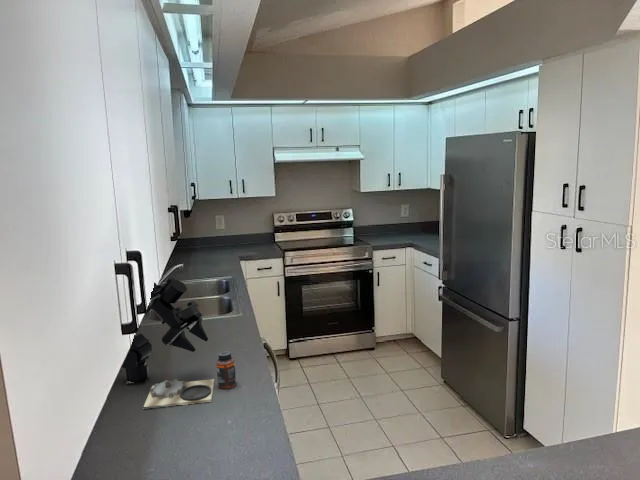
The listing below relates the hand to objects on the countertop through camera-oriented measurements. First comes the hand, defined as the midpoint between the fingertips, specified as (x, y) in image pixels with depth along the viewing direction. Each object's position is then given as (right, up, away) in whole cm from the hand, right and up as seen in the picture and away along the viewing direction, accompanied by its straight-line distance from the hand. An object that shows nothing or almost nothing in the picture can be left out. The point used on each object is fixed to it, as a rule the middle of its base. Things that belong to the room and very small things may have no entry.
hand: (201, 345), depth 159 cm
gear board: (-5, -15, -5) cm, 16 cm away
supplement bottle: (+9, -14, 0) cm, 16 cm away
